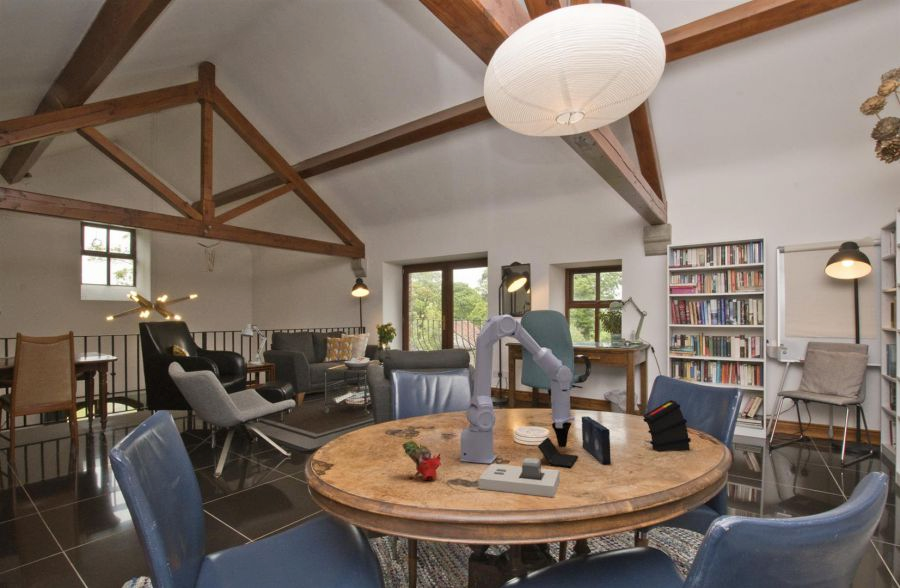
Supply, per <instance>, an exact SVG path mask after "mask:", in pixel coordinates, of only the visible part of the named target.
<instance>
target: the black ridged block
mask: <svg viewBox="0 0 900 588" xmlns="http://www.w3.org/2000/svg"><path fill="white" fill-rule="evenodd" d="M681 407H682V406H681V404H679V403H677V400H673V399H669V400H668V401H666V402H664V403H663V404H661V405H659V406H657V407H656V408H654V409H652V410H650V411H649V412H647V413H645V414H643V415H642V417H643V421H644V422H645V423H646V424H647V426H648V428H649V430H647V432H648V433H649V434H650V437H651V441H650V445H652V448H651V449H653V450H654V449H655V450H654V451H656V450H657V452H667V451H666V450H675V451H689V450H690V448H691V447H690V443H691V442H692V439H691V438H690V437H689V433H688V428H687V423H688V422H687V421H688V420H687V419H685V418H684V415H683V412H682V410H681V409H680V408H681Z"/></svg>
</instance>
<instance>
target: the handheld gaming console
mask: <svg viewBox="0 0 900 588" xmlns="http://www.w3.org/2000/svg"><path fill="white" fill-rule="evenodd" d="M537 448H538V450H540V452H541V453H542V454H543V456H544V457H545V459H546V460H547V462H548V463H549V467H554V468H562V469H572V468H573V467H574V465H575V463H576V462H577V460H578V459H579V455H576V454H570V453H569V454H567V453H561V452H560V451H559V450H558V449H557V447H556V446H555V445H554V443H553V442H552V440H551V439H550V437H546V438H545V439H544V440H542V442H541V443H539V445H538V446H537Z"/></svg>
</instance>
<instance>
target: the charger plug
mask: <svg viewBox="0 0 900 588" xmlns="http://www.w3.org/2000/svg"><path fill="white" fill-rule="evenodd" d="M521 467H522V478H523V479H533V480H541V469H542V463H541V461H540V458H528V457H524V460H523V462H522V465H521Z"/></svg>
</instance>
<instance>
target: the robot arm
mask: <svg viewBox="0 0 900 588" xmlns="http://www.w3.org/2000/svg"><path fill="white" fill-rule="evenodd" d="M506 337H509V338H512V339H516V341H517V342H519V343H520V344H521V345H522V346H523V347H524V349H526V350H527V351H529V353H531V355H532V360H533V362H535V364H537V365H538V366H539V367H540V369H542V370H543V372H545V373H546V377H547V379H548V380H550V394H551V398H550V399H551V420H552V421H553V423H552V424H551V427H552V430H553V432H554V433H555V437H556V441H557V445H558V448H567V443H568V435H569V431H570V428H571V425H572V423H571V422H570V421H575V416H571V394H570V391H571V390H570V387H571V382H572V379H573V377H574V375H573V374H574V373H572V371H571V369H570V367H568V366H567V365H565V364H564V365H563V361H562V360H561V359H558V358H557V357H556V356H555V355H554V354H553V350H552V349H550V348H547V347H541V346H540V345H539V344H538V343H537V341H536V340H534V338H533V337H532V336H531V335H530V333H528V331H527V330H526V329H525V328H524V327H523V326H522V324H521V322H519V321H518V320H516V319H515V317H514V316H512V315H511V314H502V315H492V316H490V318H488V319H486V320H485V321H484V325H483V326H482V328H481V330H480V331H479V333H478V334H477V336H476V341H475V342H476V343H475V355H474V356H475V357H474V377H473V378H474V379H473V395H472V397H471V398H470V400H469V405H468V408H467V410H466V415H465V416H466V419H467V422H469V426H468V428H467V427H466V428H465V427H464V428H462V430H461V432H460V460H459V461H460V462H467V463H477V464H479V463H480V464H488V465H491V464H493V462H494V461H495V460H496V459H497V458H498V455H497V454H494V428H493V427H494V426H495V423H496V415H495V412H494V404H493V400H492V398H491V397H492V395H491V394H492V378H493V355H494V345H495V344H496V343H497V342H499V341H501V340H502V339H503V338H506Z"/></svg>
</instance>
